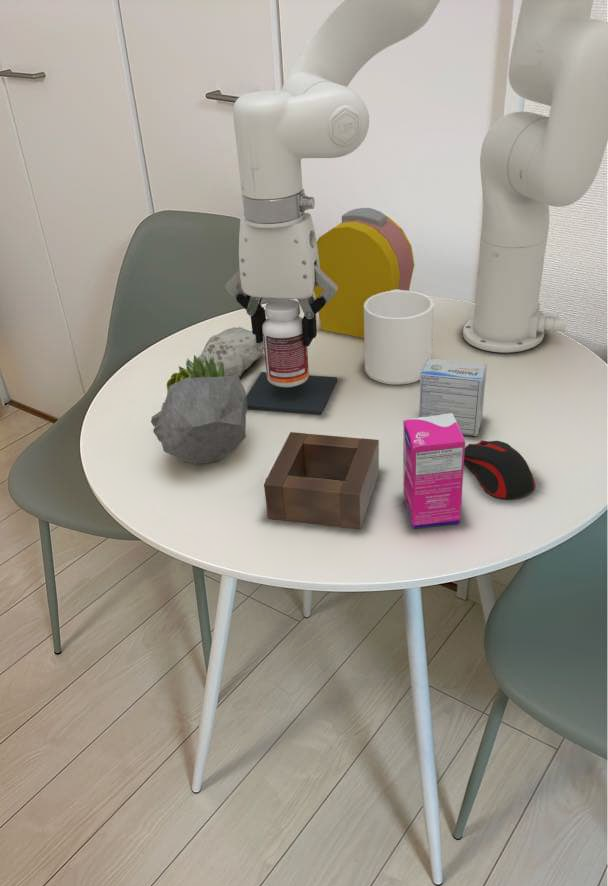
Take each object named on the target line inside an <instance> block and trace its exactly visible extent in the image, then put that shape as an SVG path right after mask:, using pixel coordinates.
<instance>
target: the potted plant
mask: <svg viewBox="0 0 608 886" xmlns="http://www.w3.org/2000/svg"><path fill="white" fill-rule="evenodd" d="M185 361H186V362H185V366H186V368H184V367H182V366H179V365H178V368H179V369H178V372H174V373H172V374H171V375H170V378H169V379H168V380H167V381H166V397H165V399H164V401H163V402H162V405H161V409H160V411H158V412H157V413H155V414H154V415H153V416H151V418H150V419H151V420H150V423H151V424H152V426H153V427H154V428H153V430H152V431H153V434H154V435H155V436H156V439H157V441H159V442H160V443H161V447H162V450H163V452H164V453H166V454H168V455H169V456H171V457H172V458H176V459H178V460H180V461H183V462H187V463H189V464H192V465H196V466H197V465H202V464H209V463H215V462H218V461H220V460H222V459H224V458H226V457H228V456H230V455H233V453H234V451H236V449H237V448H238V447H239V446H240V445H241V444H242V442H243V441H244V440H245V438H246V426H247V425H246V421H247V412H248V409H247V393H246V390H245V387H244V385H243V383H242V381H241V379H240V378H239V377H238V375H231V376H230V375H229V376H225V375H224V367H223V363H222V362H220V367H219V371H218V374H217V369H216V363H214V358H213V357H212V358H211V357H210V361H209V363H208V361H207V359H206V357H205V355H204V363H203V362H202V361H201V360H200V358H199V356H196V355H195V354H194V355H193V362H192V361H191V360H190V359H189V357H188V358H187V359H186V360H185Z"/></svg>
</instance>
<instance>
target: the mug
mask: <svg viewBox="0 0 608 886" xmlns="http://www.w3.org/2000/svg"><path fill="white" fill-rule="evenodd" d="M434 305H435V303H434V300H433V298H431V297H430V296H429V295H427V294H424V293H422V292H418V291H415V290H409V291H406V290H397V289H395V290H391V291H387V292H383V293H379V294H376V295H373V296H372V297H370V298H368V299H367V300H366V301H365V303H364V338H363V342H364V344H363V346H364V347H363V350H364V371H365V373H366V375H367V376H368V377H369V378H370V379H372V380H373V381H375V382H378V383H381V384H386V385H395V386H396V385H398V386H400V385H410V384H412V383H417V382H419V381H420V374H421V372H422V370H423V368H424V366H425V364H426V362H427V359H432V353H433V350H432V347H433V346H432V345H433V330H434V328H433V325H434V307H435V306H434Z"/></svg>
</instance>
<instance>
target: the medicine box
mask: <svg viewBox="0 0 608 886" xmlns="http://www.w3.org/2000/svg"><path fill="white" fill-rule="evenodd" d="M487 368H488V365H487V364H486V363H484V362H473V361H464V360H454V359H453V360H451V359H442V358H441V359H439V358H431V359H427V362H426V364H425V366H424V368H423V370H422V372H421V374H420V380H419V381H420V382H419V408H418V418H420V417H428V416H436V415H442V414H449V413H453V415H454V417H455V419H456V422H457V424H458V426H459V428H460V430H461V432H462V435H463V436H464V435H465V436H474V437H477V436H478V435H479V432H480V431H479V430H480V427H481V424H482V421H483V413H484V401H485V400H484V398H485V391H486V389H485V388H486V380H487V379H486V378H487Z"/></svg>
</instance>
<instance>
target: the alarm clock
mask: <svg viewBox="0 0 608 886" xmlns="http://www.w3.org/2000/svg"><path fill="white" fill-rule="evenodd" d="M316 241H317V248H318V255H319V263H320V269H321V270H322V271H323V272H324V273H325V274H326V275H327V276H328V277H329V278H330V279H331V280H332V281H333V282H334V283H335V284H336V285H337V286H338V291H337V292H336V294H335V295H334V296H333V297H332V298H331V299H330V300H329V301H328V302H327V303H326V304H325V305H324V307H323V308H322V309H321V310H320V311H319V312H318V313H317V314H318V317H319V318H318V319H319V322H320V326H321V331H326V332H330V333H335V334H336V333H337V334H342V335H346V336H351V337H356V338H361V339H364V303H365V301H366V300H367V299H368V298H370V297H372V296H373V295H376V294H379V293H383V292H387V291H391V290H395V289H397V290H406V291H410V287H411V283H412V279H413V273H414V270H415V269H414V268H415V260H414V252H413V246H412V244H411V242H410V240H409V238H408V236H407V235H406V233H405V231H404V229H403V228H402V227H400V225H398V224H397V223H396V222H395V221H394V220H393V219H392V218H390V217H389V216H387V215H386V214H384V213H383V212H382V211H380V210H377V209H375V208H371V207H360V208H354V209H351V210H348V211H347V212H345V213H344V214H342V215H341V222H340V223H338V224H337V225H336V226H334V227H332V228H331V229H329V230H328V231H327V232H325V233H324V234H322V235H321V236H319V237H318V239H317V240H316ZM323 292H324V291H323V289H322V288H321V287H320V286H319V285H318V286H317V287H314V291H313V295H314V297H315V299H317V298H318V297H319V296H320V295H321V294H322V293H323Z"/></svg>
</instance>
